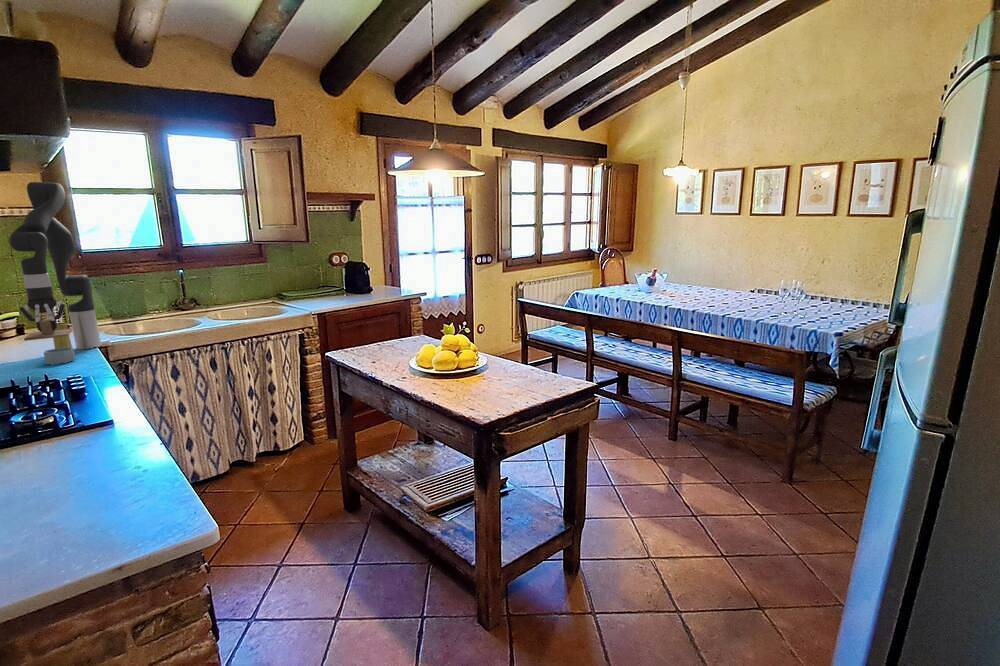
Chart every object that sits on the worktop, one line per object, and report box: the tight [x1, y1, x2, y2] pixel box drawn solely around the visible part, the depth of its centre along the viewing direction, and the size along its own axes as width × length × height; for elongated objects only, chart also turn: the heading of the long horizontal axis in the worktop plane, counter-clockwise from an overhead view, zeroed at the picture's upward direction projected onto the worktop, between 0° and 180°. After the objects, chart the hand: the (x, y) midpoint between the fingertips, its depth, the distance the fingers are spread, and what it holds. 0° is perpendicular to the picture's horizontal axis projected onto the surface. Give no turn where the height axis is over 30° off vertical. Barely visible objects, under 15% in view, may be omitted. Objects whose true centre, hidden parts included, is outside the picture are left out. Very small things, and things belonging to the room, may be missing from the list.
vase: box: [52, 322, 73, 349], centre depth 222 cm, size 6×6×14 cm
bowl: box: [43, 347, 76, 365], centre depth 213 cm, size 9×9×5 cm
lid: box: [23, 318, 73, 342], centre depth 199 cm, size 12×12×6 cm
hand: (47, 330), depth 200 cm, fingers closed on lid, 3 cm apart
